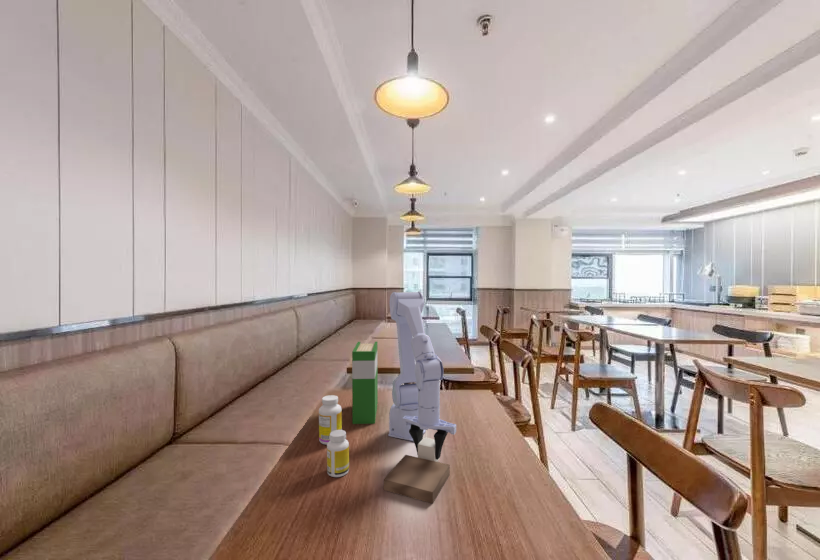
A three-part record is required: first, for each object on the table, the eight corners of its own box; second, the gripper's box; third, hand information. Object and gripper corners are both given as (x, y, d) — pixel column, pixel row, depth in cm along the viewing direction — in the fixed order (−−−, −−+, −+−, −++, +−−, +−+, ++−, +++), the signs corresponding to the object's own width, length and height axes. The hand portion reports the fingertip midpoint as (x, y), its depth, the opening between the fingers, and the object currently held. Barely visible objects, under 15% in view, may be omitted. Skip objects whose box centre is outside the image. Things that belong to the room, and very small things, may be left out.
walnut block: (383, 489, 81) (383, 479, 81) (405, 464, 92) (405, 454, 92) (432, 503, 76) (432, 492, 76) (449, 474, 87) (449, 464, 87)
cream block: (417, 463, 92) (417, 444, 92) (424, 455, 96) (424, 437, 96) (434, 467, 90) (433, 447, 90) (439, 458, 94) (439, 440, 94)
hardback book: (358, 404, 134) (357, 341, 134) (377, 404, 134) (377, 341, 134) (352, 424, 116) (352, 351, 116) (374, 423, 117) (374, 351, 116)
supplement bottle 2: (352, 468, 90) (352, 430, 90) (342, 479, 85) (341, 439, 85) (334, 464, 92) (334, 427, 91) (322, 475, 86) (322, 436, 86)
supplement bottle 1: (338, 433, 109) (338, 392, 109) (344, 442, 103) (344, 399, 103) (316, 438, 106) (316, 395, 106) (321, 447, 100) (321, 403, 100)
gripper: (397, 405, 92) (397, 456, 93) (450, 414, 86) (450, 469, 87) (408, 397, 99) (408, 445, 99) (458, 404, 93) (458, 455, 93)
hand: (428, 455), depth 93 cm, fingers closed on cream block, 4 cm apart
